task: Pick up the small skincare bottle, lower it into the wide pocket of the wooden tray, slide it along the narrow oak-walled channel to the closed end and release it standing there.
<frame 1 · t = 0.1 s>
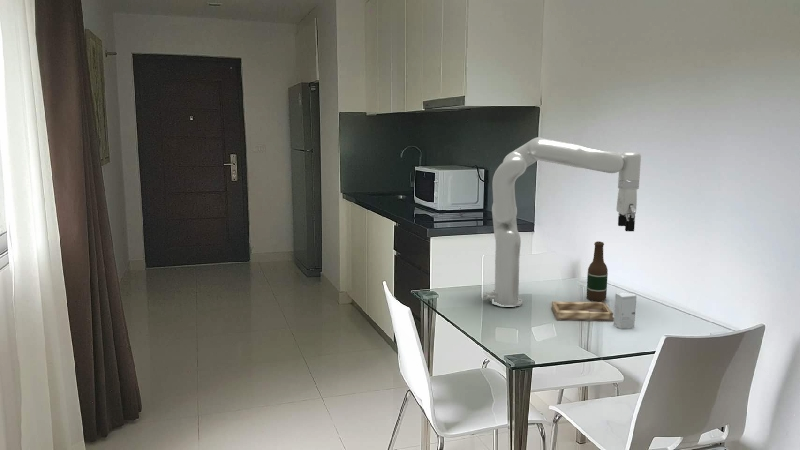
hand: (625, 228, 228), 31 cm above the table, tool pointing down, fingers open, 9 cm apart
wooden tray: (582, 314, 225), on the table
beer bottle: (596, 299, 243), on the table
skincare box: (623, 326, 213), on the table
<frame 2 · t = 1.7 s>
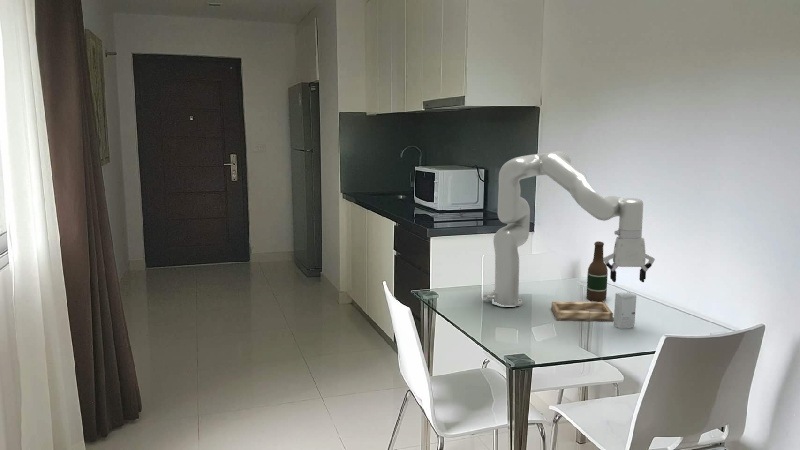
hand: (627, 281, 209), 17 cm above the table, tool pointing down, fingers open, 9 cm apart
nothing on the table moved.
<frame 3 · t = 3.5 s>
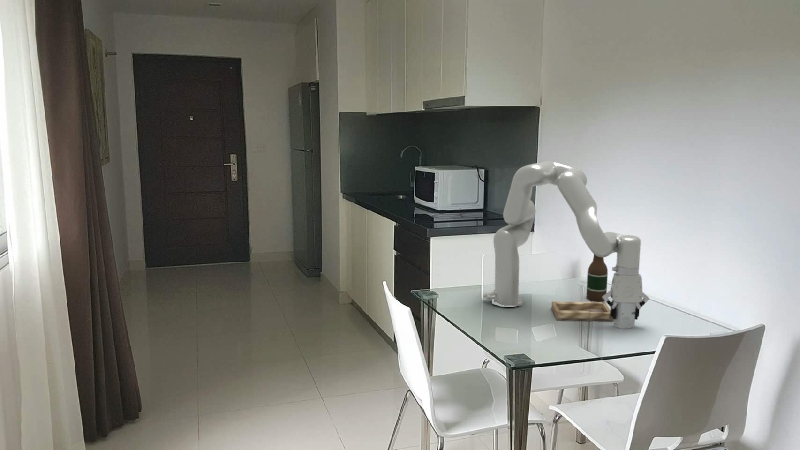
hand: (624, 317, 212), 3 cm above the table, tool pointing down, fingers closed on skincare box, 6 cm apart
skincare box: (623, 326, 213), on the table, touching gripper
everything else where it was.
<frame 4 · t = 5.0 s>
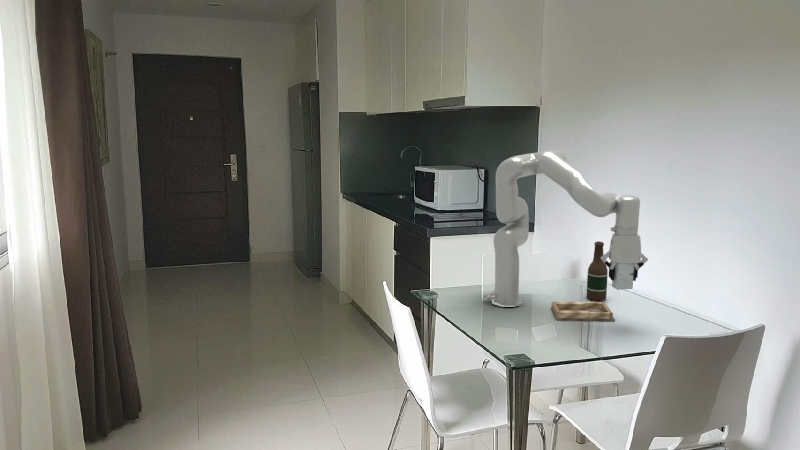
hand: (622, 279, 211), 17 cm above the table, tool pointing down, fingers closed on skincare box, 6 cm apart
skincare box: (622, 288, 212), point 14 cm above the table, touching gripper
everything else where it was.
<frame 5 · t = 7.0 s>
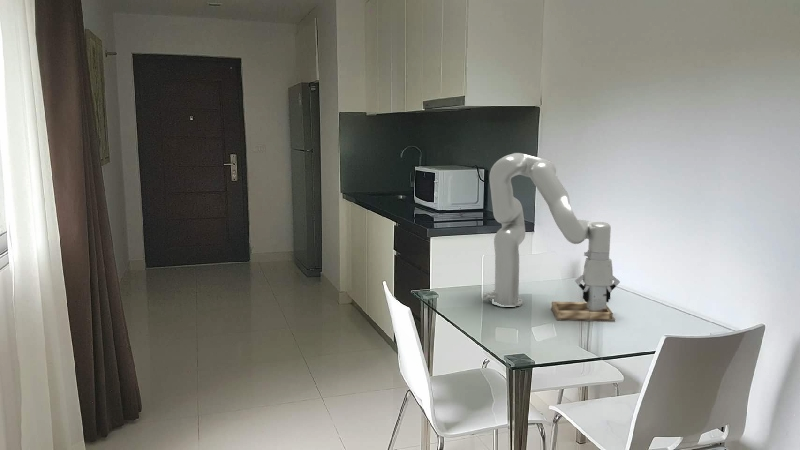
hand: (596, 300, 223), 6 cm above the table, tool pointing down, fingers closed on skincare box, 7 cm apart
skincare box: (596, 308, 224), point 3 cm above the table, touching gripper, wooden tray
everything else where it was.
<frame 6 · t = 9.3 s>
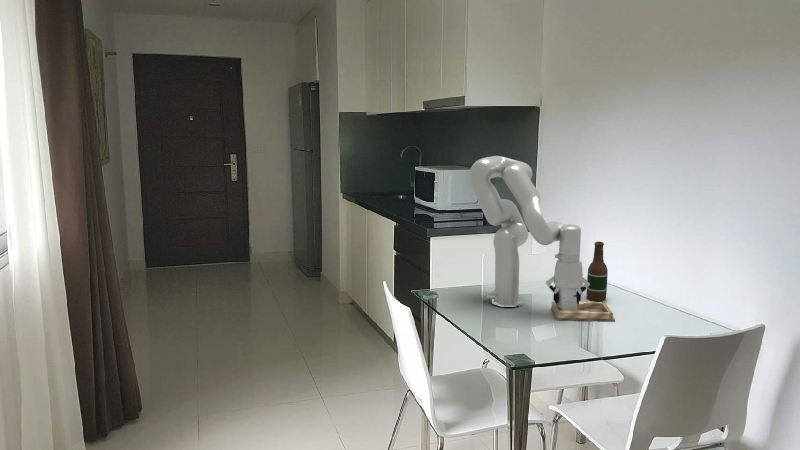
hand: (566, 302, 225), 5 cm above the table, tool pointing down, fingers closed on skincare box, 7 cm apart
skincare box: (568, 309, 225), point 2 cm above the table, touching gripper
everything else where it was.
when the fingers open (5 cm above the table, at t = 10.5 s): skincare box drops 1 cm, resting on wooden tray.
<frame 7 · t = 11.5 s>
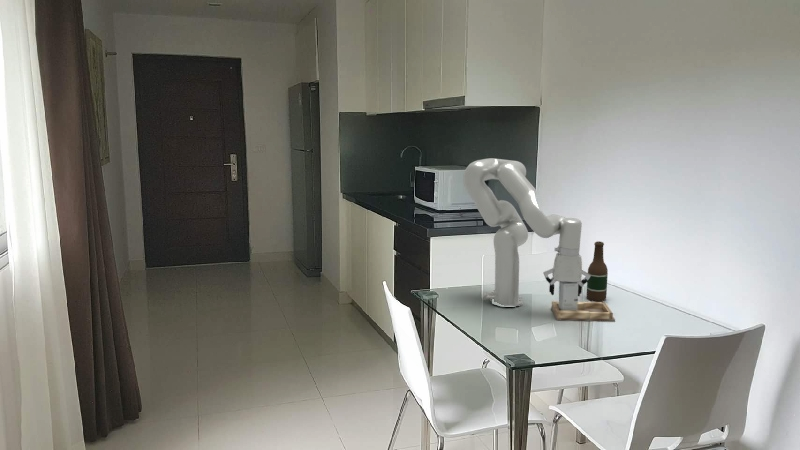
hand: (564, 294, 224), 8 cm above the table, tool pointing down, fingers open, 9 cm apart
skincare box: (567, 312, 225), point 1 cm above the table, touching gripper, wooden tray
everything else where it was.
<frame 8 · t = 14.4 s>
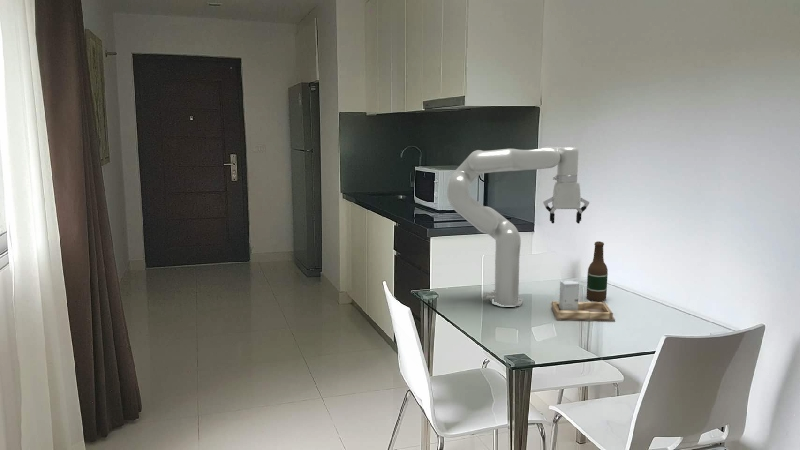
hand: (565, 222, 230), 33 cm above the table, tool pointing down, fingers open, 9 cm apart
skincare box: (568, 313, 225), point 1 cm above the table, touching wooden tray
everything else where it was.
at the end: skincare box 0.7 cm from the target spot on the wooden tray, point 0.6 cm above the wooden tray's base; skincare box tilted 0°; the gripper is holding nothing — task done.
